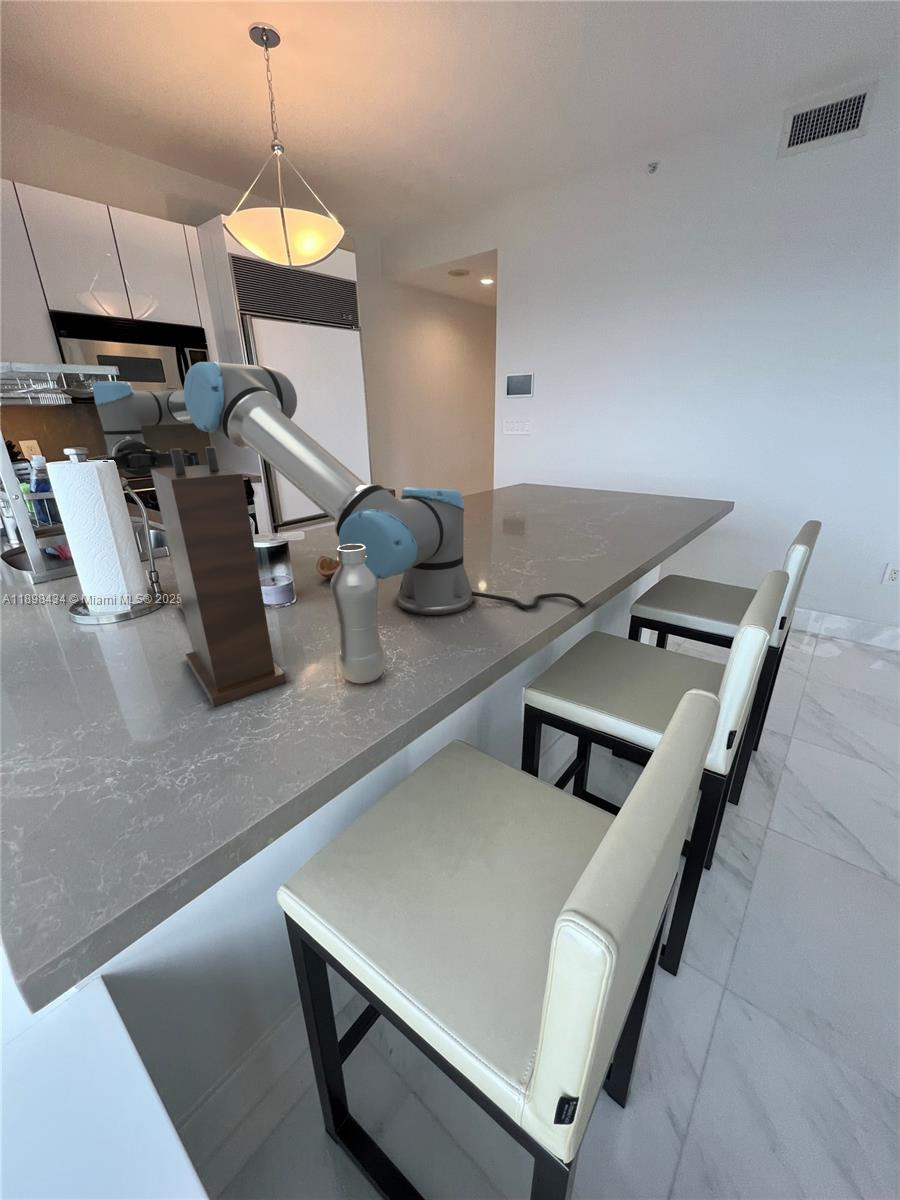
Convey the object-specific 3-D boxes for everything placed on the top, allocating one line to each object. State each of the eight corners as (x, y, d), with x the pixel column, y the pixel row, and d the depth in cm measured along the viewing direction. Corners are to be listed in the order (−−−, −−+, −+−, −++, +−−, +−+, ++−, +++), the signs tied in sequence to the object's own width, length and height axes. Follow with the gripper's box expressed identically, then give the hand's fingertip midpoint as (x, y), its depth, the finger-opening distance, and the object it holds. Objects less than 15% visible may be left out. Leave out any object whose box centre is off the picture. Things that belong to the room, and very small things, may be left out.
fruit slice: (357, 578, 115) (356, 557, 113) (336, 586, 110) (334, 565, 108) (333, 572, 119) (331, 552, 118) (311, 579, 114) (309, 559, 112)
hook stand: (286, 682, 72) (249, 448, 60) (214, 707, 66) (156, 453, 54) (251, 644, 83) (214, 442, 71) (187, 662, 78) (135, 446, 66)
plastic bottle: (377, 691, 69) (366, 555, 62) (333, 686, 71) (317, 553, 63) (391, 668, 75) (383, 542, 68) (350, 664, 76) (337, 540, 69)
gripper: (58, 442, 99) (62, 448, 83) (192, 436, 113) (217, 440, 97) (69, 480, 101) (75, 493, 86) (199, 470, 116) (224, 479, 100)
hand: (150, 465), depth 91 cm, fingers open, 13 cm apart
